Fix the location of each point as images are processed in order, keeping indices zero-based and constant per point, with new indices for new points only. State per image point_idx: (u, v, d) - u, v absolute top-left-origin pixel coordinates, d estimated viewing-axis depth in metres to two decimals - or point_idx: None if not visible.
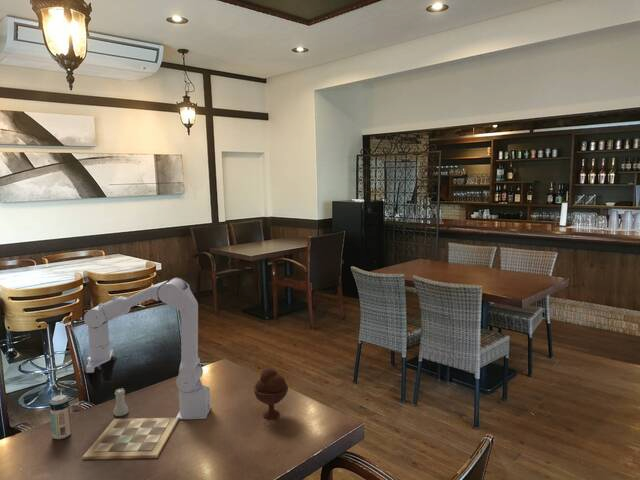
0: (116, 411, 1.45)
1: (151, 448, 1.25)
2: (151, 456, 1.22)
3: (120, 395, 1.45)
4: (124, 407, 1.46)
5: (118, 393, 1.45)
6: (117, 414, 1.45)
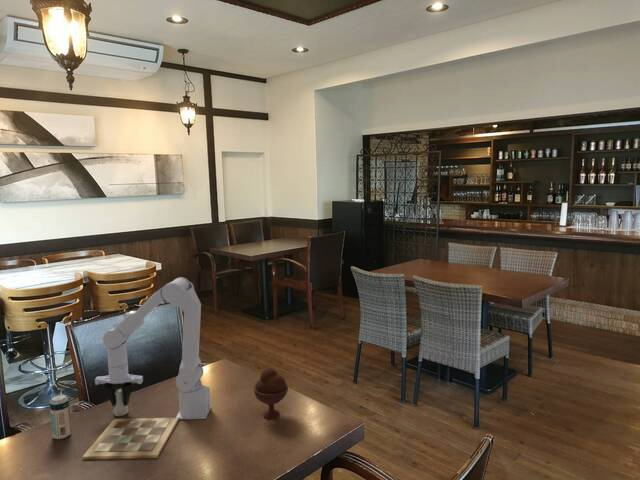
0: (116, 411, 1.45)
1: (151, 448, 1.25)
2: (151, 456, 1.22)
3: (120, 395, 1.45)
4: (124, 407, 1.46)
5: (118, 393, 1.45)
6: (117, 414, 1.45)
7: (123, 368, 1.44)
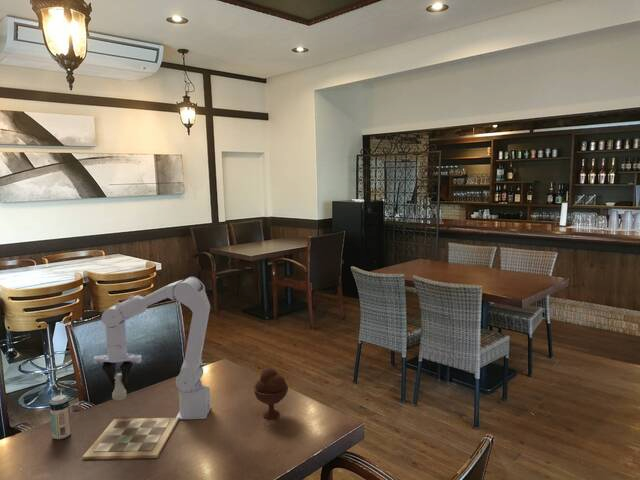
0: (115, 395, 1.44)
1: (151, 448, 1.25)
2: (151, 456, 1.22)
3: (119, 379, 1.44)
4: (123, 391, 1.46)
5: (117, 377, 1.44)
6: (116, 398, 1.44)
7: (122, 347, 1.43)
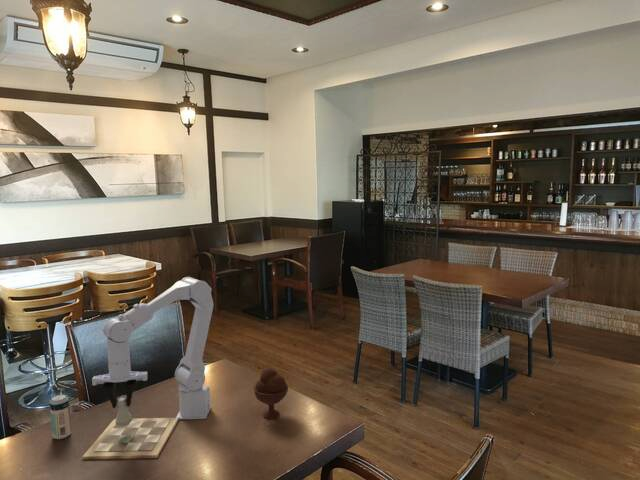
0: (121, 421, 1.31)
1: (151, 448, 1.25)
2: (151, 456, 1.22)
3: (124, 404, 1.31)
4: (128, 415, 1.32)
5: (122, 402, 1.30)
6: (122, 424, 1.31)
7: (126, 364, 1.29)
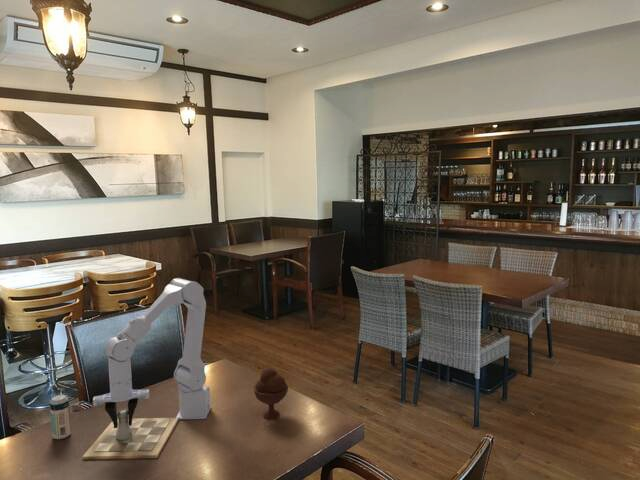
0: (121, 434, 1.29)
1: (151, 448, 1.25)
2: (151, 456, 1.22)
3: (126, 416, 1.30)
4: (129, 428, 1.31)
5: (123, 414, 1.29)
6: (123, 438, 1.29)
7: (129, 383, 1.27)
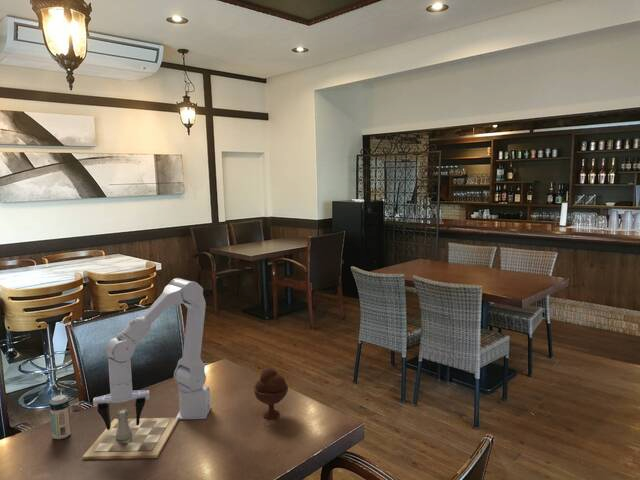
0: (121, 435, 1.29)
1: (151, 448, 1.25)
2: (151, 456, 1.22)
3: (125, 416, 1.30)
4: (129, 428, 1.31)
5: (123, 414, 1.29)
6: (123, 438, 1.29)
7: (129, 384, 1.27)
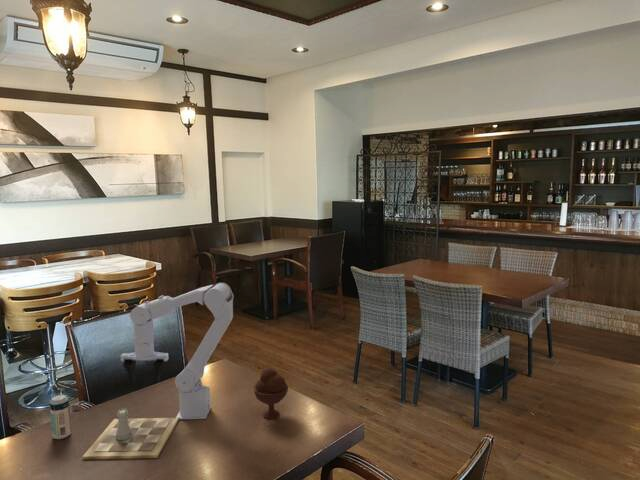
0: (121, 435, 1.29)
1: (151, 448, 1.25)
2: (151, 456, 1.22)
3: (125, 416, 1.30)
4: (129, 428, 1.31)
5: (123, 414, 1.29)
6: (123, 438, 1.29)
7: (150, 345, 1.43)
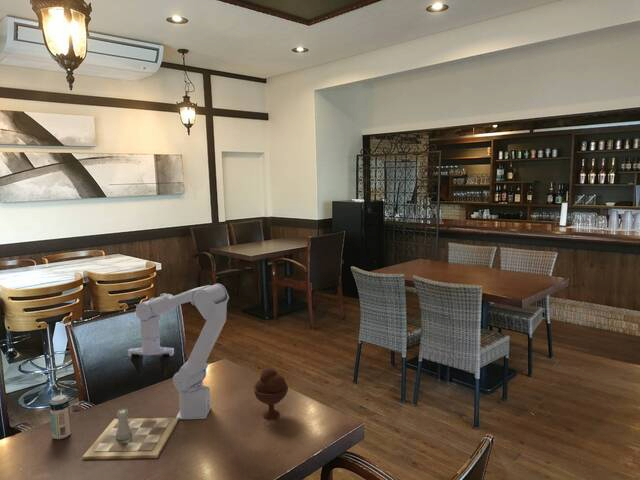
0: (121, 435, 1.29)
1: (151, 448, 1.25)
2: (151, 456, 1.22)
3: (125, 416, 1.30)
4: (129, 428, 1.31)
5: (123, 414, 1.29)
6: (123, 438, 1.29)
7: (156, 340, 1.48)
